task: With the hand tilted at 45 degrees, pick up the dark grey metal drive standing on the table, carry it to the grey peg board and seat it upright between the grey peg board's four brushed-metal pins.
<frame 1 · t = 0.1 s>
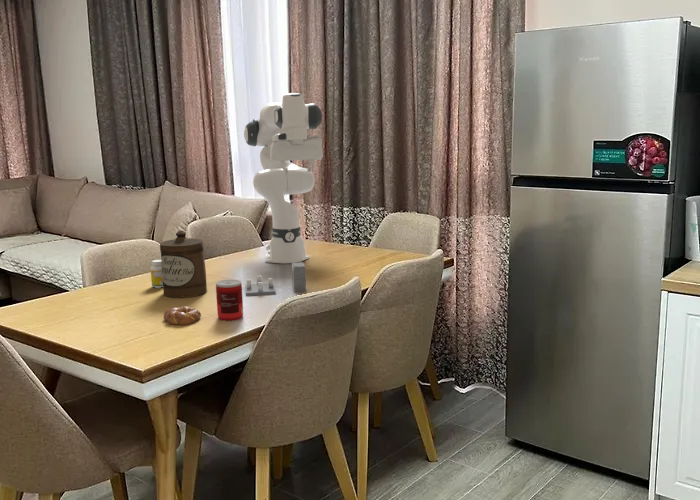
hand: (297, 172, 260), 39 cm above the table, tool pointing down, fingers open, 8 cm apart
drive: (299, 289, 239), on the table
pretzel: (182, 321, 206), on the table
canned food: (230, 318, 208), on the table
grey peg board: (260, 290, 240), on the table
supplement bottle: (159, 287, 249), on the table
wooden container: (185, 293, 239), on the table
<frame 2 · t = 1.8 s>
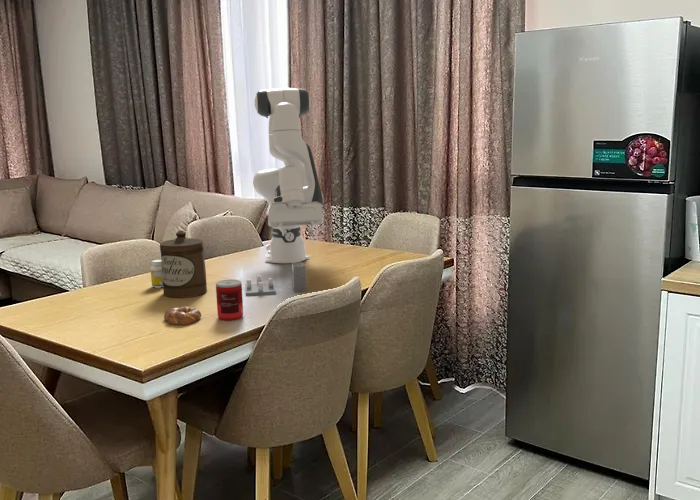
hand: (297, 234, 246), 18 cm above the table, tool tilted 40°, fingers open, 8 cm apart
nothing on the table moved.
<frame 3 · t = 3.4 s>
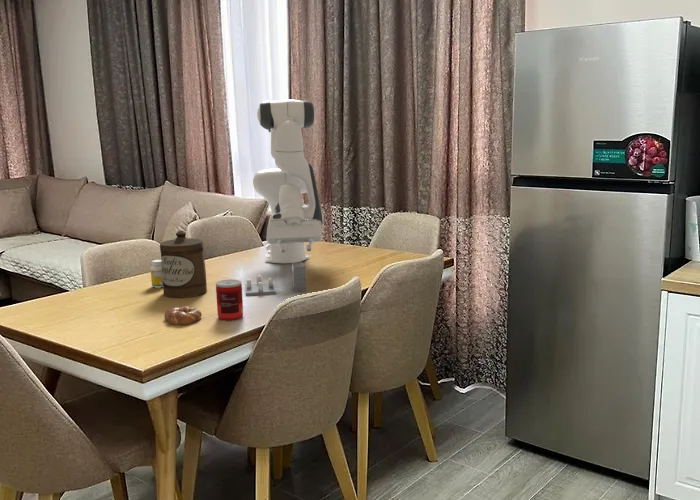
hand: (296, 250, 244), 13 cm above the table, tool tilted 45°, fingers open, 8 cm apart
nothing on the table moved.
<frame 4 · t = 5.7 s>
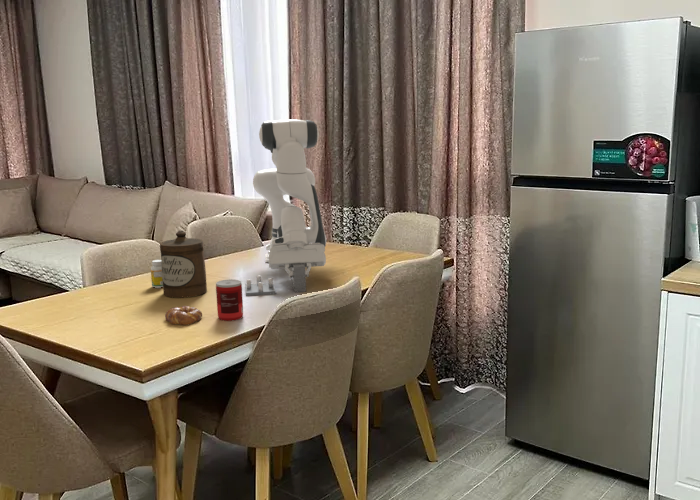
hand: (298, 276, 238), 5 cm above the table, tool tilted 45°, fingers closed on drive, 4 cm apart
drive: (299, 289, 239), on the table, touching gripper
everything else where it was.
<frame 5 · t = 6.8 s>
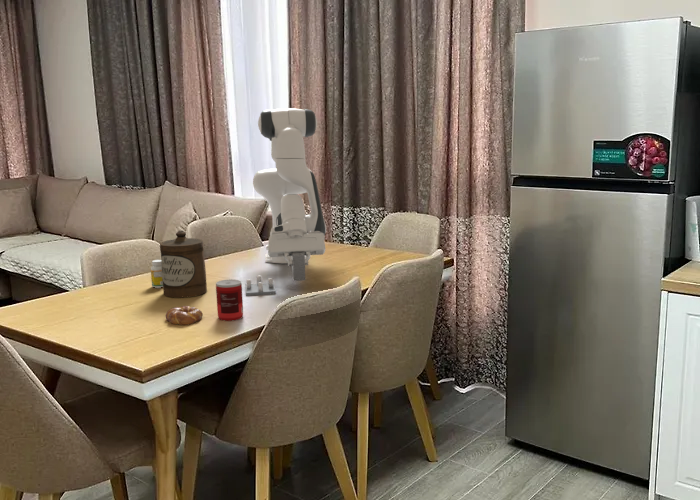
hand: (298, 264, 237), 9 cm above the table, tool tilted 45°, fingers closed on drive, 4 cm apart
drive: (298, 278, 239), point 4 cm above the table, touching gripper
everything else where it was.
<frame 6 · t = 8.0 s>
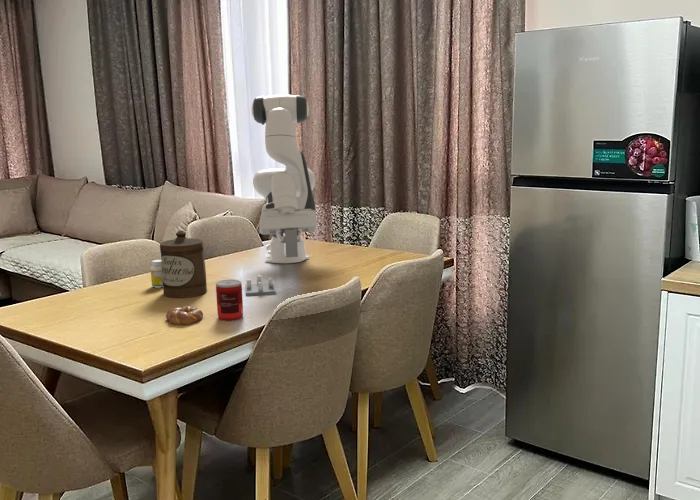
hand: (290, 241, 235), 17 cm above the table, tool tilted 45°, fingers closed on drive, 4 cm apart
drive: (290, 255, 236), point 12 cm above the table, touching gripper
everything else where it was.
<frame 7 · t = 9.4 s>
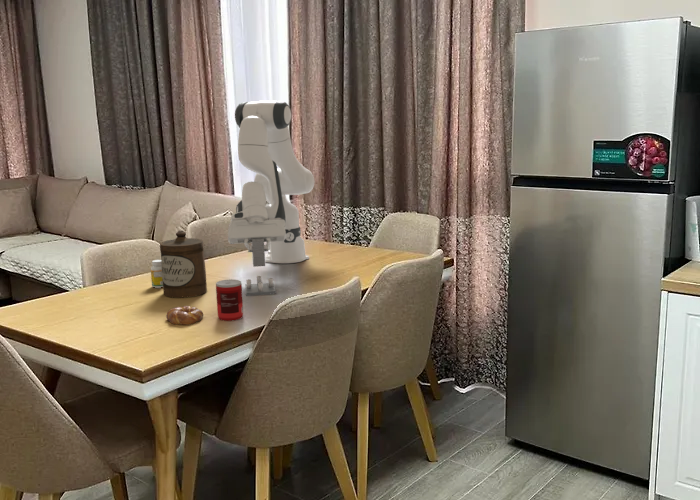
hand: (258, 250, 236), 14 cm above the table, tool tilted 45°, fingers closed on drive, 4 cm apart
drive: (258, 264, 237), point 9 cm above the table, touching gripper
everything else where it was.
when the fingers open (7 cm above the table, at t = 10.8 s): drive drops 1 cm, resting on grey peg board.
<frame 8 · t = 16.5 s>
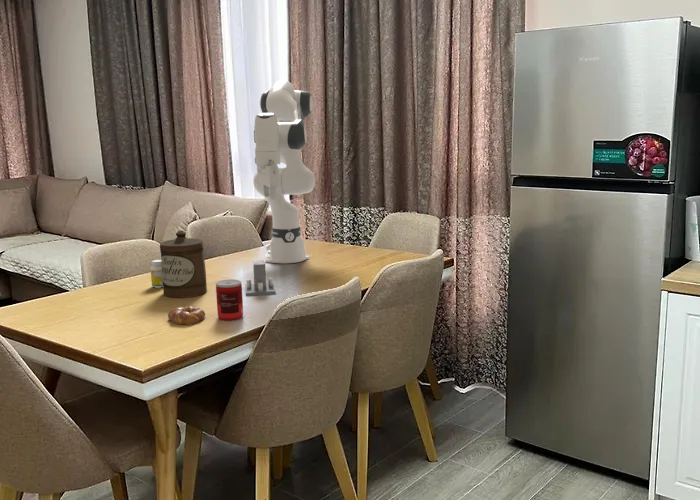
hand: (269, 198, 246), 31 cm above the table, tool pointing down, fingers open, 8 cm apart
drive: (260, 287, 239), point 1 cm above the table, touching grey peg board
at the end: drive 0.1 cm from the grey peg board (horizontally); drive tilted 0°; drive point 1.0 cm above the table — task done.
